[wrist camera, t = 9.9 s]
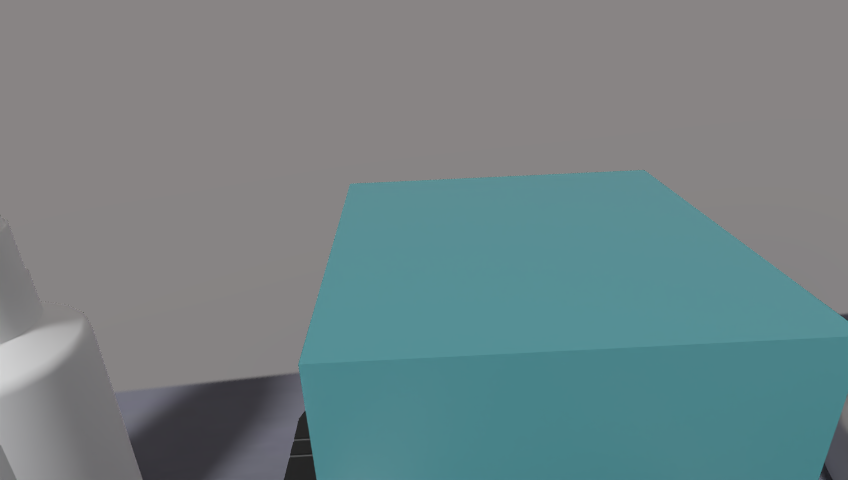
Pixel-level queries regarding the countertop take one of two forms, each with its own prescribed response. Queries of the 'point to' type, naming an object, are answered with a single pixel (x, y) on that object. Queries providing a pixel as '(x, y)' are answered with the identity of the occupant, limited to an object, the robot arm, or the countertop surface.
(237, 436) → the countertop surface
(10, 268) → the spray bottle
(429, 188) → the teal pillar
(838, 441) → the plastic bottle
